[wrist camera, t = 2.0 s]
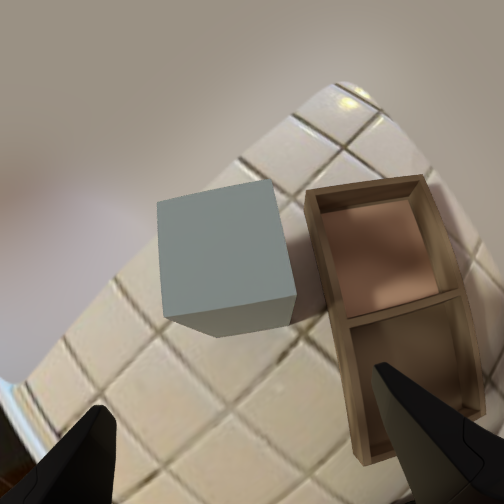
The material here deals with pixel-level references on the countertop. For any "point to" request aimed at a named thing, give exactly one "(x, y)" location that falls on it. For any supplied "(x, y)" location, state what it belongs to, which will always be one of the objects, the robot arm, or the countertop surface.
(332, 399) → the countertop surface
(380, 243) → the slot holder
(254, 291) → the grey tall block
